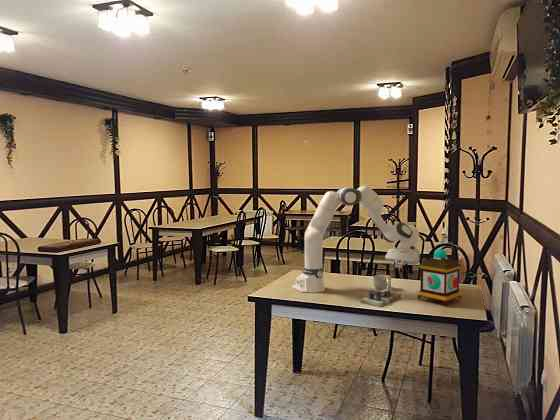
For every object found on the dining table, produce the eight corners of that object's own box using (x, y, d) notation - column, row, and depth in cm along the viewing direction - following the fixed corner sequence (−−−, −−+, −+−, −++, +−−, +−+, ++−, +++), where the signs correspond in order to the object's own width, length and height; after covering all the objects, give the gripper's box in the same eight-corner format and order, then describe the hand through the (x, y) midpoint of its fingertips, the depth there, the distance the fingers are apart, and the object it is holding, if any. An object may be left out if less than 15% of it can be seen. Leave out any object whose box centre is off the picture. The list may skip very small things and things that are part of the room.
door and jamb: (382, 294, 257) (382, 283, 257) (401, 298, 249) (401, 287, 248) (360, 302, 240) (360, 291, 239) (379, 307, 231) (379, 295, 231)
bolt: (387, 291, 252) (387, 274, 252) (392, 292, 250) (392, 275, 249) (378, 294, 245) (378, 277, 244) (383, 295, 243) (383, 278, 242)
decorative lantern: (464, 301, 241) (466, 248, 239) (447, 308, 228) (448, 252, 226) (431, 294, 256) (432, 244, 254) (413, 300, 243) (414, 248, 241)
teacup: (391, 291, 262) (391, 279, 262) (373, 291, 264) (373, 278, 264) (389, 286, 276) (390, 274, 275) (372, 285, 278) (372, 273, 278)
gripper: (388, 244, 269) (380, 262, 262) (419, 248, 255) (411, 266, 248) (391, 250, 272) (383, 268, 266) (422, 254, 258) (415, 273, 252)
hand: (397, 267), depth 257 cm, fingers closed
